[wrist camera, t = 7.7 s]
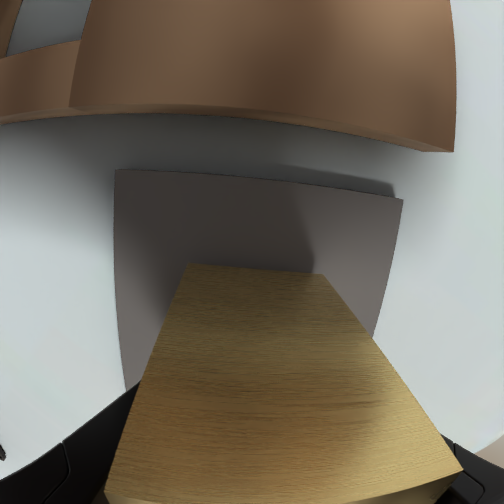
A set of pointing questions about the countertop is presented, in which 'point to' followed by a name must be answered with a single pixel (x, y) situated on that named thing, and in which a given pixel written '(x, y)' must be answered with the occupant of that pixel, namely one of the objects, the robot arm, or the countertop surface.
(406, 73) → the walnut board
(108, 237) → the countertop surface
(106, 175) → the countertop surface
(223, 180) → the rubber mat
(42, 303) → the countertop surface
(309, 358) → the brass plug
